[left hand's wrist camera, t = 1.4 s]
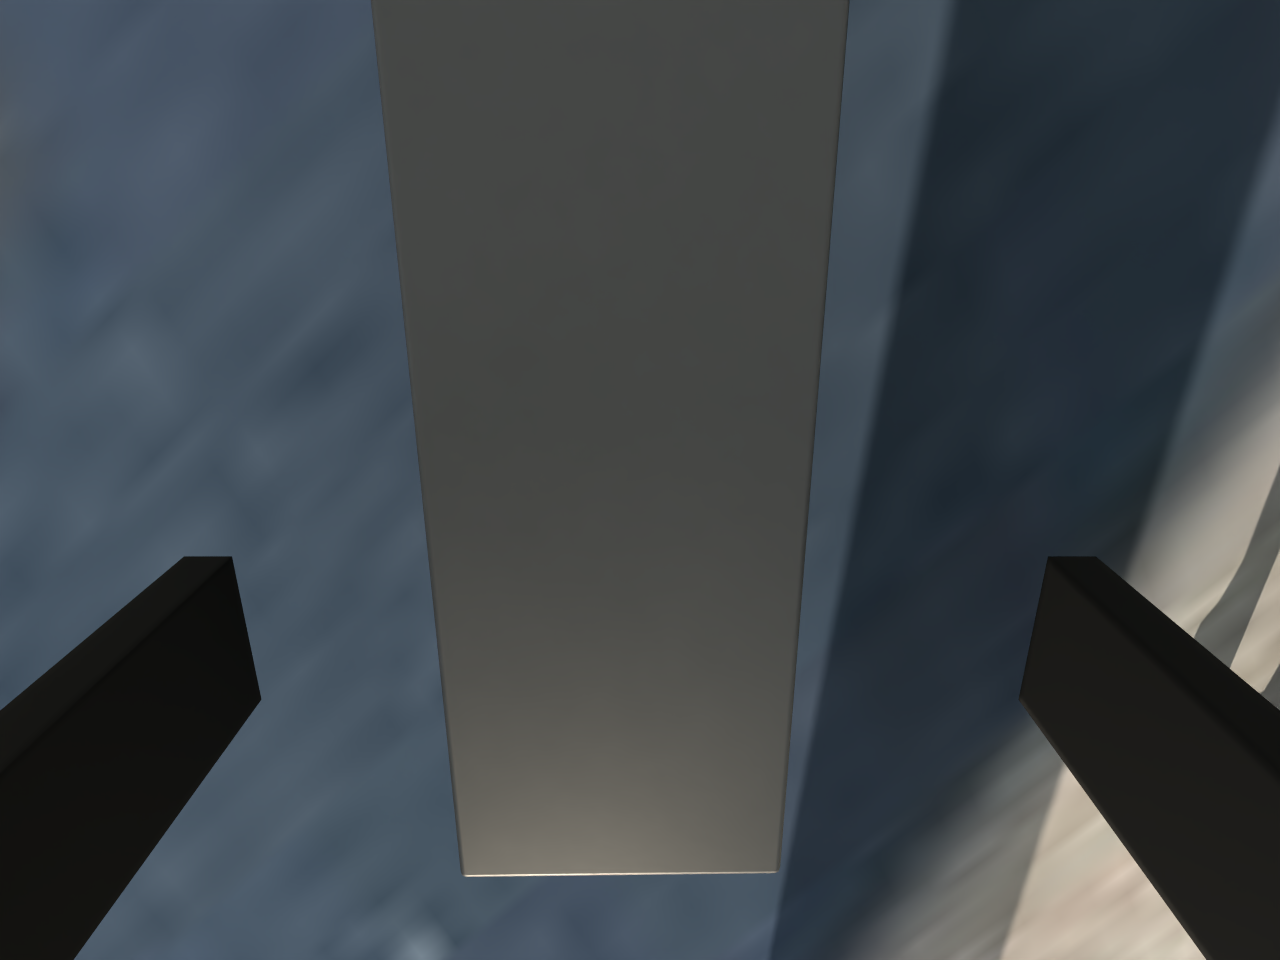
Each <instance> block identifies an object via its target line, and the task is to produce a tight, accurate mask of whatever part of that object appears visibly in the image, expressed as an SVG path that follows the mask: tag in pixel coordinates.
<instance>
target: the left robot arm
mask: <svg viewBox="0 0 1280 960" xmlns="http://www.w3.org/2000/svg"><path fill="white" fill-rule="evenodd" d="M260 701H261V695H260V690H259V686H258V681H257V676H256V671H255V666H254V661H253V657H252V652H251V647H250V642H249V637H248V632H247V627H246V623H245V618H244V613H243V608H242V603H241V598H240V594H239V589H238V584H237V579H236V574H235V569H234V564H233V560H232V557H183V558H182V559H181V560H179V561H178V562H177V563H176V564H175V565H174V566H172V567H171V568H170V569H169V570H168V571H166V572H165V573H164V574H163V575H162V576H160V577H159V578H158V579H157V580H156V581H154V582H153V583H152V584H151V585H150V586H148V587H147V588H146V589H145V590H144V591H142V592H141V593H140V594H139V595H138V596H137V597H135V598H134V599H133V600H132V601H131V602H129V603H128V604H127V605H126V606H125V607H123V608H122V609H121V610H120V611H119V612H117V613H116V614H115V615H114V616H113V617H111V618H110V619H109V620H108V621H107V622H105V623H104V624H103V625H102V626H101V627H100V628H98V629H97V630H96V631H95V632H94V633H92V634H91V635H90V636H89V637H88V638H86V639H85V640H84V641H83V642H82V643H80V644H79V645H78V646H77V647H76V648H74V649H73V650H72V651H71V652H70V653H68V654H67V655H66V656H65V657H64V658H63V659H61V660H60V661H59V662H58V663H57V664H55V665H54V666H53V667H52V668H51V669H49V670H48V671H47V672H46V673H45V674H43V675H42V676H41V677H40V678H39V679H37V680H36V681H35V682H34V683H33V684H31V685H30V686H29V687H28V688H27V689H26V690H24V691H23V692H22V693H21V694H20V695H18V696H17V697H16V698H15V699H14V700H12V701H11V702H10V703H9V704H8V705H6V706H5V707H4V708H3V709H2V710H0V960H74V958H75V957H76V956H77V954H78V953H79V951H80V950H81V949H82V947H83V946H84V944H85V943H86V942H87V940H88V939H89V938H90V936H91V935H92V933H93V932H94V931H95V929H96V928H97V926H98V925H99V924H100V922H101V921H102V920H103V918H104V917H105V915H106V914H107V913H108V911H109V910H110V908H111V907H112V906H113V904H114V903H115V902H116V900H117V899H118V897H119V896H120V895H121V893H122V892H123V890H124V889H125V888H126V886H127V885H128V884H129V882H130V881H131V879H132V878H133V877H134V875H135V874H136V872H137V871H138V870H139V868H140V867H141V866H142V864H143V863H144V861H145V860H146V859H147V857H148V856H149V854H150V853H151V852H152V850H153V849H154V847H155V846H156V845H157V843H158V842H159V841H160V839H161V838H162V836H163V835H164V834H165V832H166V831H167V829H168V828H169V827H170V825H171V824H172V823H173V821H174V820H175V818H176V817H177V816H178V814H179V813H180V811H181V810H182V809H183V807H184V806H185V805H186V803H187V802H188V800H189V799H190V798H191V796H192V795H193V793H194V792H195V791H196V789H197V788H198V787H199V785H200V784H201V782H202V781H203V780H204V778H205V777H206V775H207V774H208V773H209V771H210V770H211V769H212V767H213V766H214V764H215V763H216V762H217V760H218V759H219V757H220V756H221V755H222V753H223V752H224V750H225V749H226V748H227V746H228V745H229V744H230V742H231V741H232V739H233V738H234V737H235V735H236V734H237V732H238V731H239V730H240V728H241V727H242V726H243V724H244V723H245V721H246V720H247V719H248V717H249V716H250V714H251V713H252V712H253V710H254V709H255V708H256V706H257V705H258V703H259V702H260ZM1019 701H1020V702H1021V703H1022V705H1023V706H1024V708H1025V709H1026V710H1027V712H1028V713H1029V714H1030V716H1031V717H1032V719H1033V720H1034V721H1035V723H1036V724H1037V726H1038V727H1039V728H1040V730H1041V731H1042V732H1043V734H1044V735H1045V737H1046V738H1047V739H1048V741H1049V742H1050V744H1051V745H1052V746H1053V748H1054V749H1055V750H1056V752H1057V753H1058V755H1059V756H1060V757H1061V759H1062V760H1063V762H1064V763H1065V764H1066V766H1067V767H1068V769H1069V770H1070V771H1071V773H1072V774H1073V775H1074V777H1075V778H1076V780H1077V781H1078V782H1079V784H1080V785H1081V787H1082V788H1083V789H1084V791H1085V792H1086V793H1087V795H1088V796H1089V798H1090V799H1091V800H1092V802H1093V803H1094V805H1095V806H1096V807H1097V809H1098V810H1099V811H1100V813H1101V814H1102V816H1103V817H1104V818H1105V820H1106V821H1107V823H1108V824H1109V825H1110V827H1111V828H1112V829H1113V831H1114V832H1115V834H1116V835H1117V836H1118V838H1119V839H1120V841H1121V842H1122V843H1123V845H1124V846H1125V847H1126V849H1127V850H1128V852H1129V853H1130V854H1131V856H1132V857H1133V859H1134V860H1135V861H1136V863H1137V864H1138V866H1139V867H1140V868H1141V870H1142V871H1143V872H1144V874H1145V875H1146V877H1147V878H1148V879H1149V881H1150V882H1151V884H1152V885H1153V886H1154V888H1155V889H1156V890H1157V892H1158V893H1159V895H1160V896H1161V897H1162V899H1163V900H1164V902H1165V903H1166V904H1167V906H1168V907H1169V908H1170V910H1171V911H1172V913H1173V914H1174V915H1175V917H1176V918H1177V920H1178V921H1179V922H1180V924H1181V925H1182V926H1183V928H1184V929H1185V931H1186V932H1187V933H1188V935H1189V936H1190V938H1191V939H1192V940H1193V942H1194V943H1195V944H1196V946H1197V947H1198V949H1199V950H1200V951H1201V953H1202V954H1203V956H1204V957H1205V958H1206V960H1280V710H1278V709H1277V708H1276V707H1275V706H1274V705H1272V704H1271V703H1270V702H1269V701H1268V700H1266V699H1265V698H1264V697H1263V696H1262V695H1260V694H1259V693H1258V692H1257V691H1256V690H1254V689H1253V688H1252V687H1251V686H1250V685H1249V684H1247V683H1246V682H1245V681H1244V680H1243V679H1241V678H1240V677H1239V676H1238V675H1237V674H1235V673H1234V672H1233V671H1232V670H1231V669H1229V668H1228V667H1227V666H1226V665H1225V664H1223V663H1222V662H1221V661H1220V660H1219V659H1217V658H1216V657H1215V656H1214V655H1213V654H1212V653H1210V652H1209V651H1208V650H1207V649H1206V648H1204V647H1203V646H1202V645H1201V644H1200V643H1198V642H1197V641H1196V640H1195V639H1194V638H1192V637H1191V636H1190V635H1189V634H1188V633H1186V632H1185V631H1184V630H1183V629H1182V628H1180V627H1179V626H1178V625H1177V624H1176V623H1175V622H1173V621H1172V620H1171V619H1170V618H1169V617H1167V616H1166V615H1165V614H1164V613H1163V612H1161V611H1160V610H1159V609H1158V608H1157V607H1155V606H1154V605H1153V604H1152V603H1151V602H1149V601H1148V600H1147V599H1146V598H1145V597H1143V596H1142V595H1141V594H1140V593H1139V592H1138V591H1136V590H1135V589H1134V588H1133V587H1132V586H1130V585H1129V584H1128V583H1127V582H1126V581H1124V580H1123V579H1122V578H1121V577H1120V576H1118V575H1117V574H1116V573H1115V572H1114V571H1112V570H1111V569H1110V568H1109V567H1108V566H1106V565H1105V564H1104V563H1103V562H1102V561H1101V560H1099V559H1098V558H1097V557H1048V560H1047V564H1046V569H1045V574H1044V579H1043V584H1042V589H1041V593H1040V598H1039V603H1038V608H1037V613H1036V618H1035V623H1034V627H1033V632H1032V637H1031V642H1030V647H1029V652H1028V657H1027V661H1026V666H1025V671H1024V676H1023V681H1022V686H1021V690H1020V695H1019Z"/></svg>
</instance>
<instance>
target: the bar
mask: <svg viewBox="0 0 1280 960" xmlns="http://www.w3.org/2000/svg"><path fill="white" fill-rule="evenodd" d="M371 5H372V15H373V25H374V34H375V44H376V54H377V64H378V73H379V83H380V93H381V102H382V112H383V122H384V131H385V141H386V151H387V160H388V170H389V180H390V190H391V199H392V209H393V219H394V228H395V238H396V248H397V257H398V267H399V277H400V286H401V296H402V306H403V316H404V325H405V335H406V345H407V354H408V364H409V374H410V383H411V393H412V403H413V412H414V422H415V432H416V442H417V451H418V461H419V471H420V480H421V490H422V500H423V509H424V519H425V529H426V539H427V548H428V558H429V568H430V577H431V587H432V597H433V606H434V616H435V626H436V635H437V645H438V655H439V665H440V674H441V684H442V694H443V703H444V713H445V723H446V732H447V742H448V752H449V761H450V771H451V781H452V791H453V800H454V810H455V820H456V829H457V839H458V849H459V858H460V868H461V873H462V875H463V876H466V877H483V876H565V875H646V874H728V873H776V872H778V871H779V868H780V860H781V848H782V835H783V823H784V810H785V798H786V785H787V773H788V760H789V748H790V736H791V723H792V711H793V698H794V686H795V673H796V661H797V648H798V636H799V623H800V611H801V598H802V586H803V574H804V561H805V549H806V536H807V524H808V511H809V499H810V486H811V474H812V461H813V449H814V436H815V424H816V412H817V399H818V387H819V374H820V362H821V349H822V337H823V324H824V312H825V299H826V287H827V275H828V262H829V250H830V237H831V225H832V212H833V200H834V187H835V175H836V162H837V150H838V137H839V125H840V112H841V100H842V88H843V75H844V63H845V50H846V38H847V25H848V13H849V0H371Z"/></svg>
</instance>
